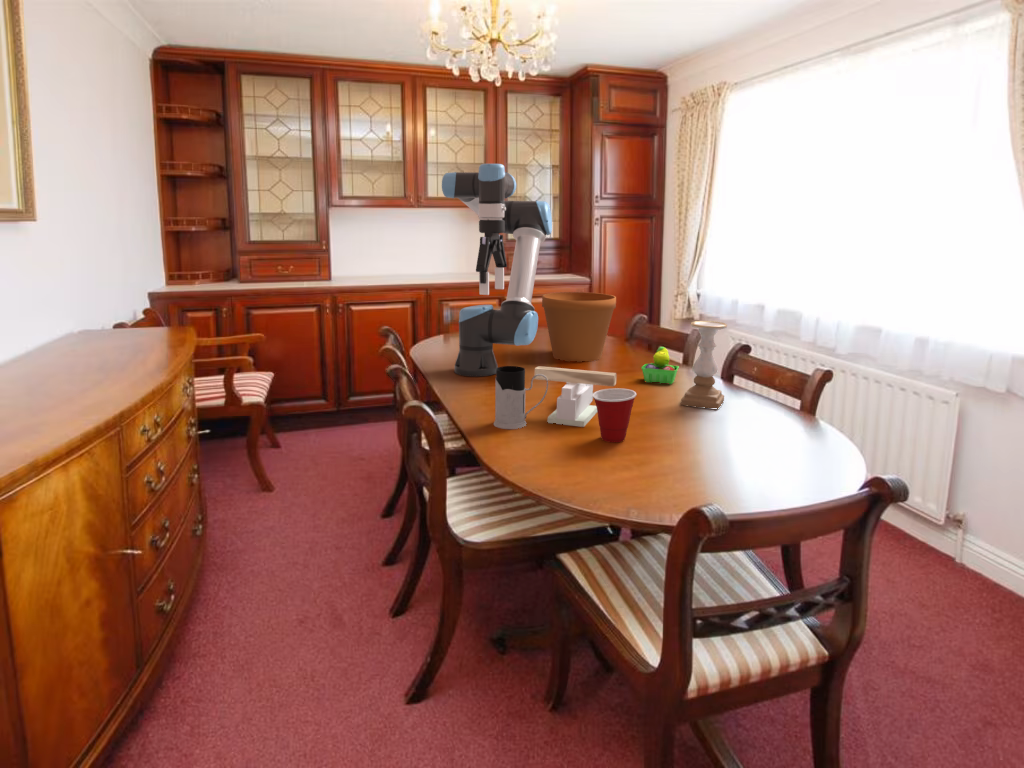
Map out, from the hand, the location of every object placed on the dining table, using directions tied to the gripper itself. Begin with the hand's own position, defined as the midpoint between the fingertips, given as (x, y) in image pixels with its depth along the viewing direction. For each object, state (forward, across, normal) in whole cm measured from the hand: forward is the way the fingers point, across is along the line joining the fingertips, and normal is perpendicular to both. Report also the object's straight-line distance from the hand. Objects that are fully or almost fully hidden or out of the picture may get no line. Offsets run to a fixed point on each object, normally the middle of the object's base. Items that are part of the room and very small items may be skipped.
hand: (492, 291), depth 208 cm
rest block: (+31, -4, -29) cm, 42 cm away
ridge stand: (+31, -18, -30) cm, 47 cm away
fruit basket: (+32, +32, -48) cm, 66 cm away
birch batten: (+21, -18, -30) cm, 41 cm away
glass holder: (+31, -30, -18) cm, 46 cm away
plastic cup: (+31, -34, -44) cm, 63 cm away
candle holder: (+31, +9, -63) cm, 71 cm away
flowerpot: (+33, +62, -13) cm, 71 cm away
